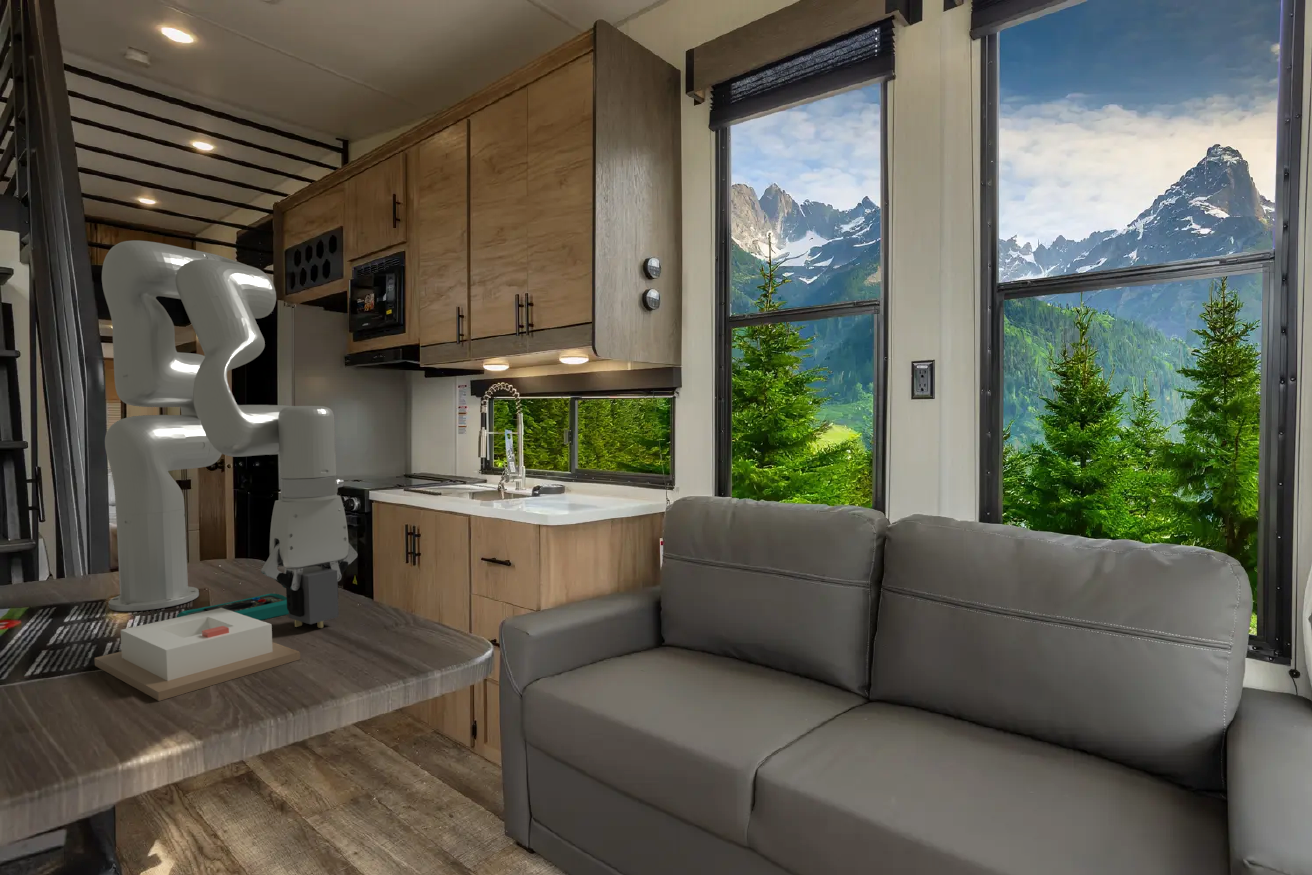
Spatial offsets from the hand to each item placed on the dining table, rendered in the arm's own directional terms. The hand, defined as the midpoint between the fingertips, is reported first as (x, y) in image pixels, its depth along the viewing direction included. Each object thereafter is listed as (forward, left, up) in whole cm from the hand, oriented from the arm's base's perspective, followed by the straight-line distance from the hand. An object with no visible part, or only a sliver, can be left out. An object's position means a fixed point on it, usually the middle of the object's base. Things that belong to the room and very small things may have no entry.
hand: (313, 609), depth 109 cm
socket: (+3, -17, -2) cm, 17 cm away
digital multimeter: (-13, -5, -3) cm, 14 cm away
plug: (0, 0, -2) cm, 2 cm away
